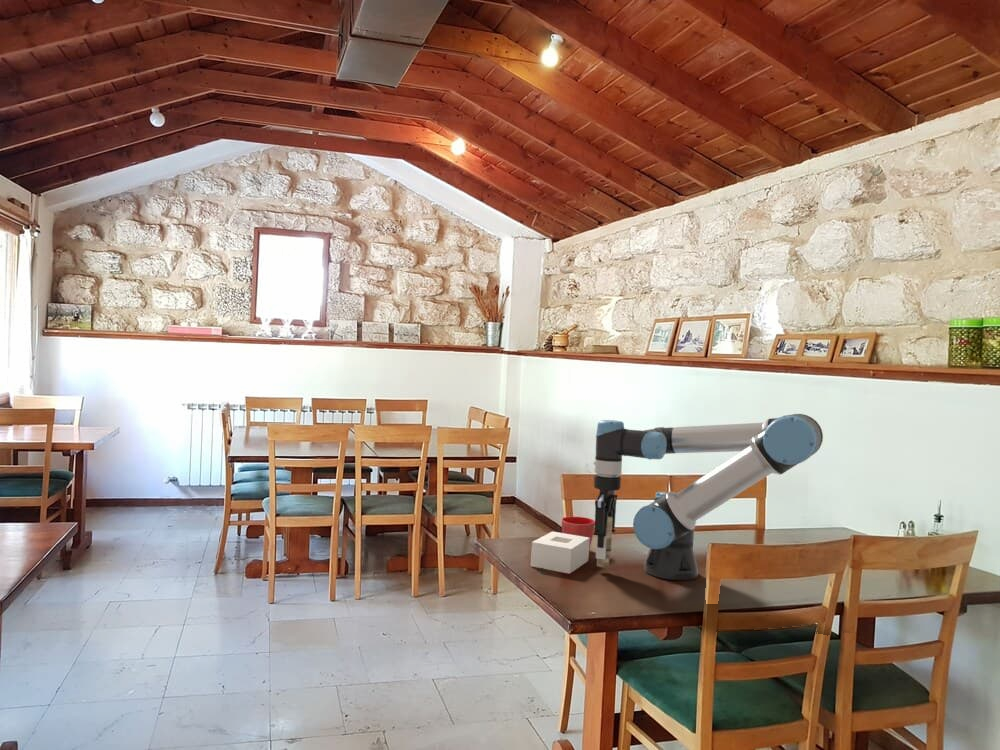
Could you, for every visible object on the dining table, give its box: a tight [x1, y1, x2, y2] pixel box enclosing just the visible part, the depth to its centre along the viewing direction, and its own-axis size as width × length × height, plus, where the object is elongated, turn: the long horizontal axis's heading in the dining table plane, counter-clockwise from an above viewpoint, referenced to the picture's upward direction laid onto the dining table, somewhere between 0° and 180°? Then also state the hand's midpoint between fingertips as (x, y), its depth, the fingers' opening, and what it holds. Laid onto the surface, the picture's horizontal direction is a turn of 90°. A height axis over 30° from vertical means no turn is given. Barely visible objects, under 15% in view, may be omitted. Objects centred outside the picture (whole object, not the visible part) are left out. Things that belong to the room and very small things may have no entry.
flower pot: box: [561, 516, 595, 550], centre depth 235 cm, size 11×11×10 cm
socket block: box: [529, 531, 590, 574], centre depth 219 cm, size 12×16×7 cm
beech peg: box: [596, 516, 613, 568], centre depth 213 cm, size 4×4×14 cm
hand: (603, 556), depth 213 cm, fingers closed on beech peg, 4 cm apart
